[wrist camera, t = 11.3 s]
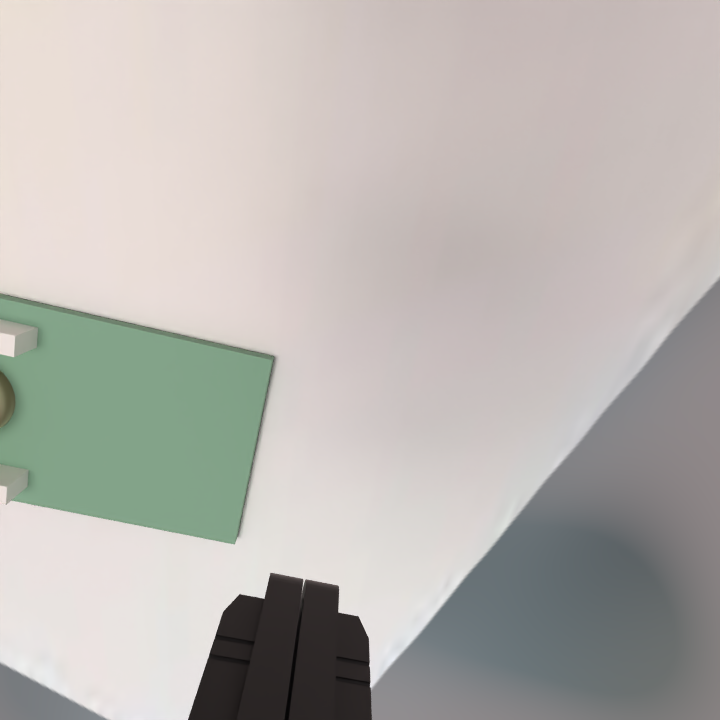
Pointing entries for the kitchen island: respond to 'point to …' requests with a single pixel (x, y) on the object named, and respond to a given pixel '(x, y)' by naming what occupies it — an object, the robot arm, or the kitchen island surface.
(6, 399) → the puck
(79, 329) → the putting green
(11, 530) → the kitchen island surface
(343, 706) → the robot arm
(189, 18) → the kitchen island surface
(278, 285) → the kitchen island surface
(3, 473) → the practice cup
